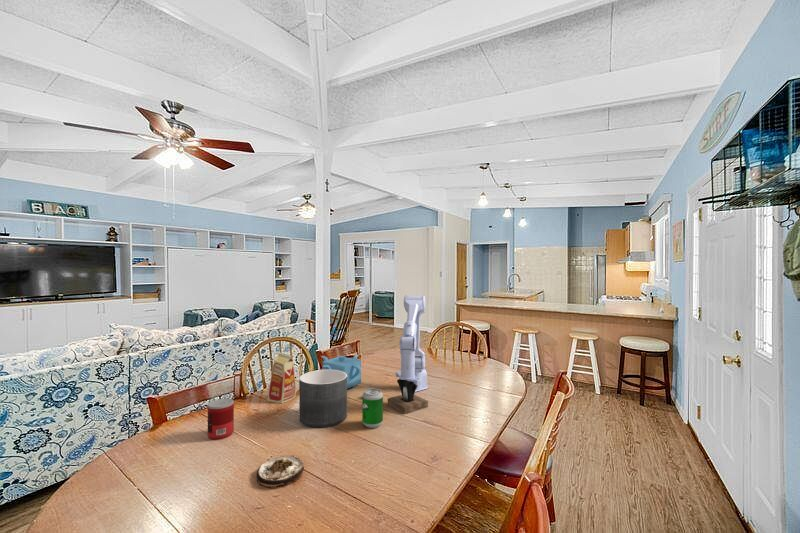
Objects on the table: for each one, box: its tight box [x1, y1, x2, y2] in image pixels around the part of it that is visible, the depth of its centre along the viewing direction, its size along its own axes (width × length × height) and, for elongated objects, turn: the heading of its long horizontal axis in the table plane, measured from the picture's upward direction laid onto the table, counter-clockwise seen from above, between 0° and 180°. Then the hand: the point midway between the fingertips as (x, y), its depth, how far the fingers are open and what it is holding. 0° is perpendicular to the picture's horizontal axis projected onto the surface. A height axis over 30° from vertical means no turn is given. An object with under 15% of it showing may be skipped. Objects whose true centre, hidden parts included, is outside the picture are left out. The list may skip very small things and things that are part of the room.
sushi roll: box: [256, 454, 308, 489], centre depth 97 cm, size 15×15×4 cm
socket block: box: [387, 394, 429, 415], centre depth 146 cm, size 12×12×2 cm
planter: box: [298, 369, 348, 429], centre depth 134 cm, size 18×18×16 cm
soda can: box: [361, 388, 384, 429], centre depth 128 cm, size 8×8×12 cm
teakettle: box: [320, 354, 362, 390], centre depth 168 cm, size 19×19×15 cm
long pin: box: [403, 385, 411, 403], centre depth 146 cm, size 3×3×7 cm
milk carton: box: [266, 351, 297, 404], centre depth 153 cm, size 9×9×20 cm
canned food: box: [207, 398, 235, 441], centre depth 120 cm, size 8×8×11 cm
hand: (407, 397), depth 146 cm, fingers closed on long pin, 3 cm apart
